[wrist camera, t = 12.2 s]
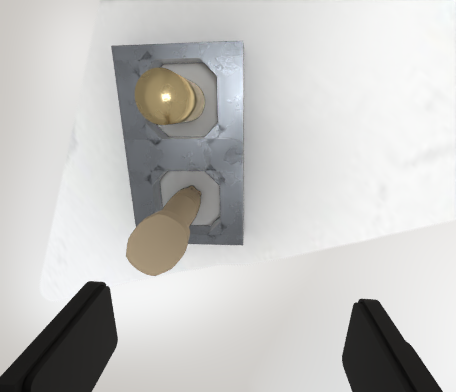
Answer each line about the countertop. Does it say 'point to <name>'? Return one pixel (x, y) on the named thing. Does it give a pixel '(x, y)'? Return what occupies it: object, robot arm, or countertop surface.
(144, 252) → the handle
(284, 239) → the countertop surface
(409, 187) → the countertop surface
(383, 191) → the countertop surface
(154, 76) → the brass pin
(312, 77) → the countertop surface
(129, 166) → the bolt plate
